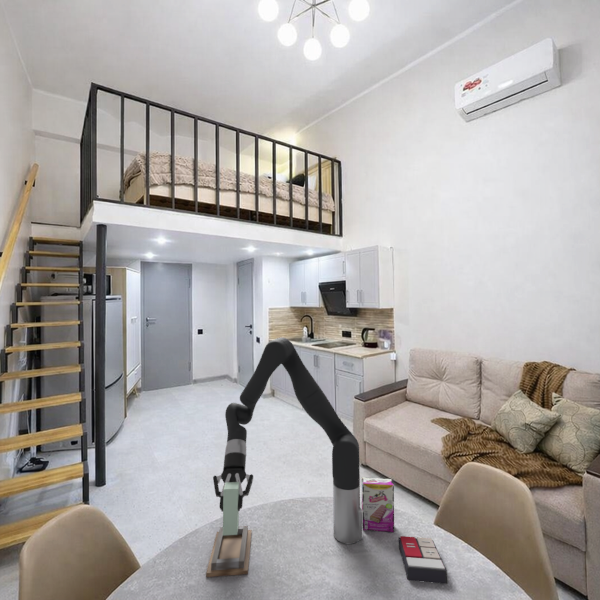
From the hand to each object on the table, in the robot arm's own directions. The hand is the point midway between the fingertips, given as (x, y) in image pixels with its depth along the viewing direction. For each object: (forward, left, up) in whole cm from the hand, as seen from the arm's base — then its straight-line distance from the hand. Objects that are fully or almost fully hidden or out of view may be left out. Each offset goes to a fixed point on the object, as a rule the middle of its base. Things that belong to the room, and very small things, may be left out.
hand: (230, 510), depth 104 cm
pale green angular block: (0, -1, -7) cm, 7 cm away
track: (0, -1, -14) cm, 14 cm away
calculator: (-59, +8, -14) cm, 61 cm away
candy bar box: (-51, -9, -14) cm, 54 cm away
